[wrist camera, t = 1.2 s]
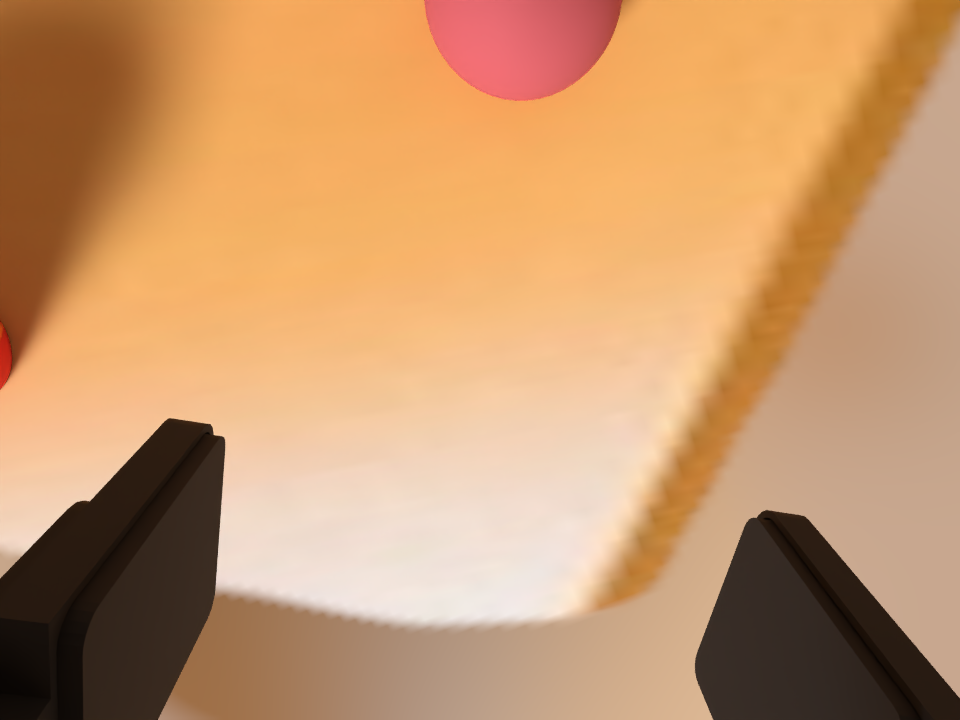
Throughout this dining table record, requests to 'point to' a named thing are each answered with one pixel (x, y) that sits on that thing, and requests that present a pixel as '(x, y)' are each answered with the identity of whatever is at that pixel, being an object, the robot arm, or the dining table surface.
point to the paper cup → (4, 356)
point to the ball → (522, 42)
